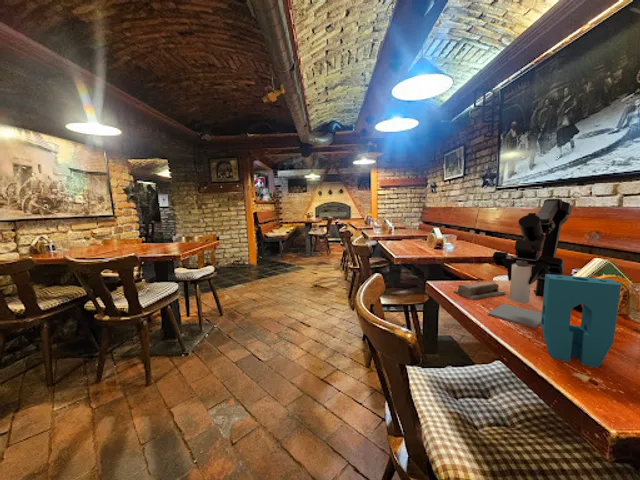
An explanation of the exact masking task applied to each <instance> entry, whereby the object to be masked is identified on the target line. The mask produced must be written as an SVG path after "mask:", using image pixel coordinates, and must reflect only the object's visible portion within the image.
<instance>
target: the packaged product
mask: <svg viewBox="0 0 640 480" xmlns="http://www.w3.org/2000/svg"><path fill="white" fill-rule="evenodd" d="M453 292H454V293H455V294H458V295H460V296H463V297H466V298H468V299H470V300H478V299H485V298H492V297H497V296H502V295H505V294H506V292H505V291H504V290H500V289H499V284H497V283H496V282H494V281H479V282H471V283H463V284H462V283H461V284H458V288H457V290H456V289H455V290H453Z"/></svg>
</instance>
